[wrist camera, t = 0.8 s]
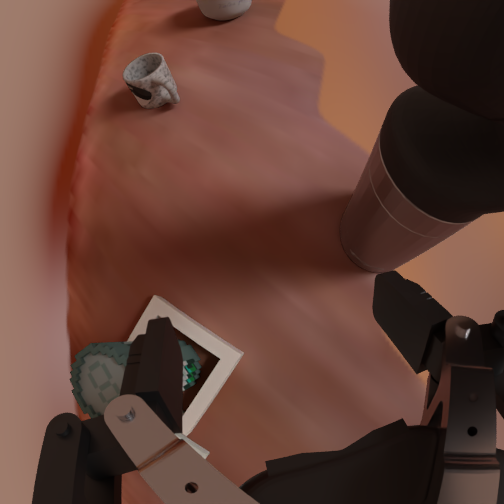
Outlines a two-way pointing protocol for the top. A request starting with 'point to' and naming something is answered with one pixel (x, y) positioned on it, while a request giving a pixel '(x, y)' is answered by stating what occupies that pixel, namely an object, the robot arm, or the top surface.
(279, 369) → the top surface
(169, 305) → the well rim
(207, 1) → the teacup
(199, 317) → the top surface
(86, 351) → the can
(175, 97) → the mug
